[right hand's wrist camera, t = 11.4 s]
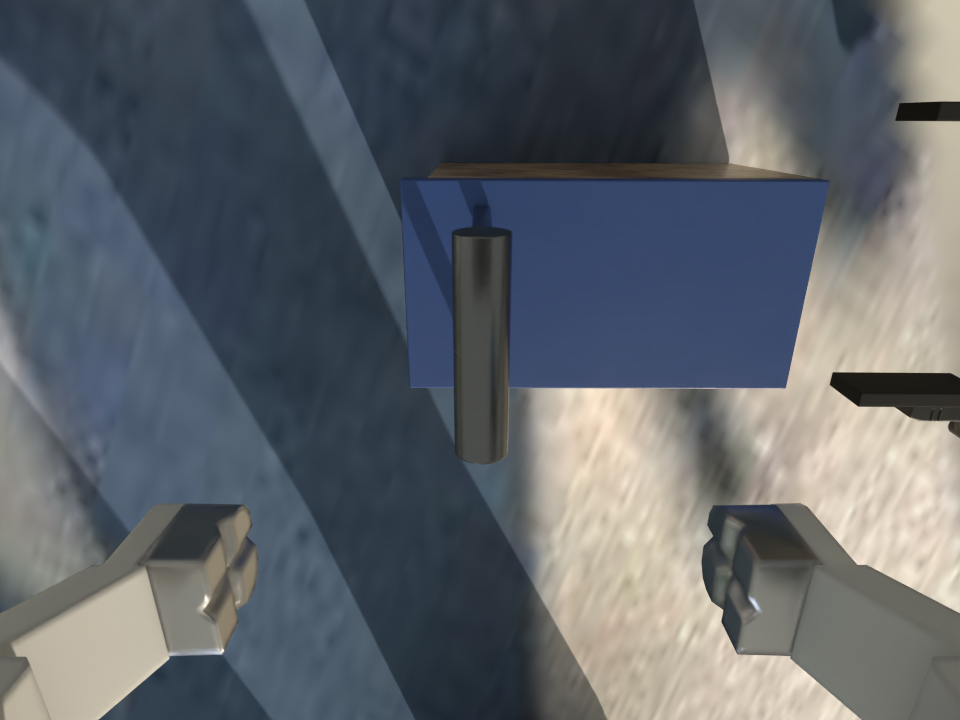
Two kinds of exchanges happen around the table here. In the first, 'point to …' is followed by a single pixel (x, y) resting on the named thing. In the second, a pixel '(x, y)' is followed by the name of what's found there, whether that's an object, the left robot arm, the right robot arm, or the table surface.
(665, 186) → the lid
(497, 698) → the table surface
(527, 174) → the chest
